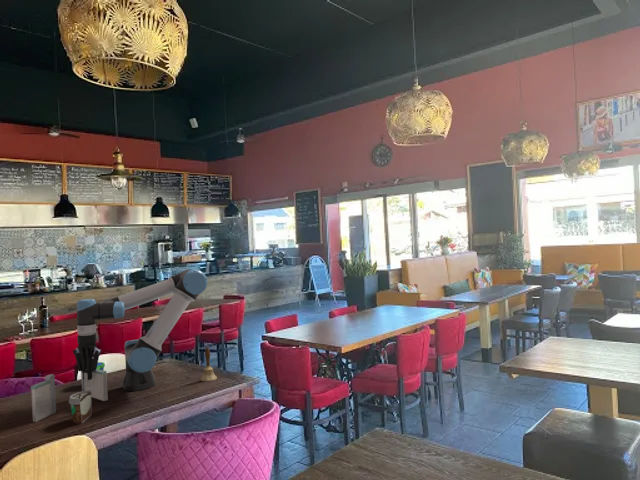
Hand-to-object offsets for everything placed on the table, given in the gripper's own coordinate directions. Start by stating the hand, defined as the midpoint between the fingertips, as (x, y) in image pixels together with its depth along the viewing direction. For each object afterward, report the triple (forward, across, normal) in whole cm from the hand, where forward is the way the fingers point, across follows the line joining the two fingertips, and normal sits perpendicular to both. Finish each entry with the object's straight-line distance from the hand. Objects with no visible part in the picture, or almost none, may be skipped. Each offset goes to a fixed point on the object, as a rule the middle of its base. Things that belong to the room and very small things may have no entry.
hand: (87, 386), depth 211 cm
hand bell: (+6, +41, +36) cm, 55 cm away
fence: (+7, -7, -7) cm, 12 cm away
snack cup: (+8, -16, +27) cm, 33 cm away
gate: (+5, +2, +3) cm, 6 cm away
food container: (+7, +11, -20) cm, 24 cm away
